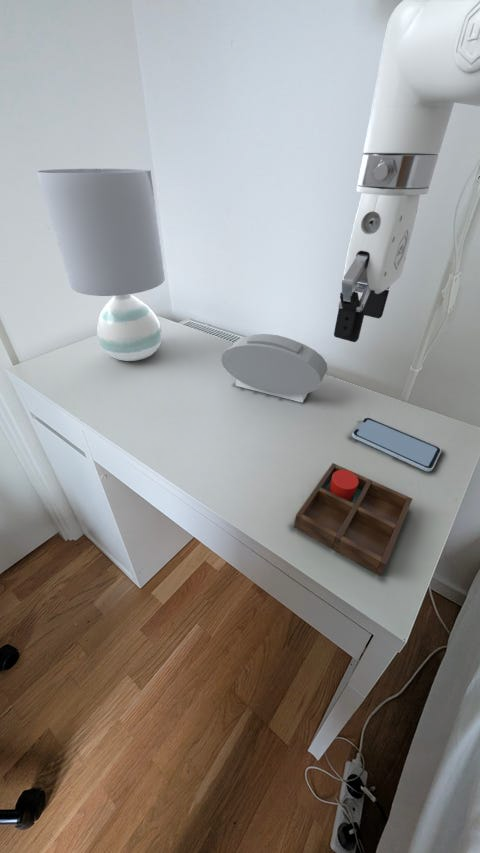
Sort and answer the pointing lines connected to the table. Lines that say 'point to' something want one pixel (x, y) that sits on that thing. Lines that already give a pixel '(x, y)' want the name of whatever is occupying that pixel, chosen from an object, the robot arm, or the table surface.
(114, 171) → the lamp
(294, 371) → the alarm clock
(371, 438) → the smartphone
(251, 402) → the table surface
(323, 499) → the grid
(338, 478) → the red cylinder
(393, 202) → the robot arm
